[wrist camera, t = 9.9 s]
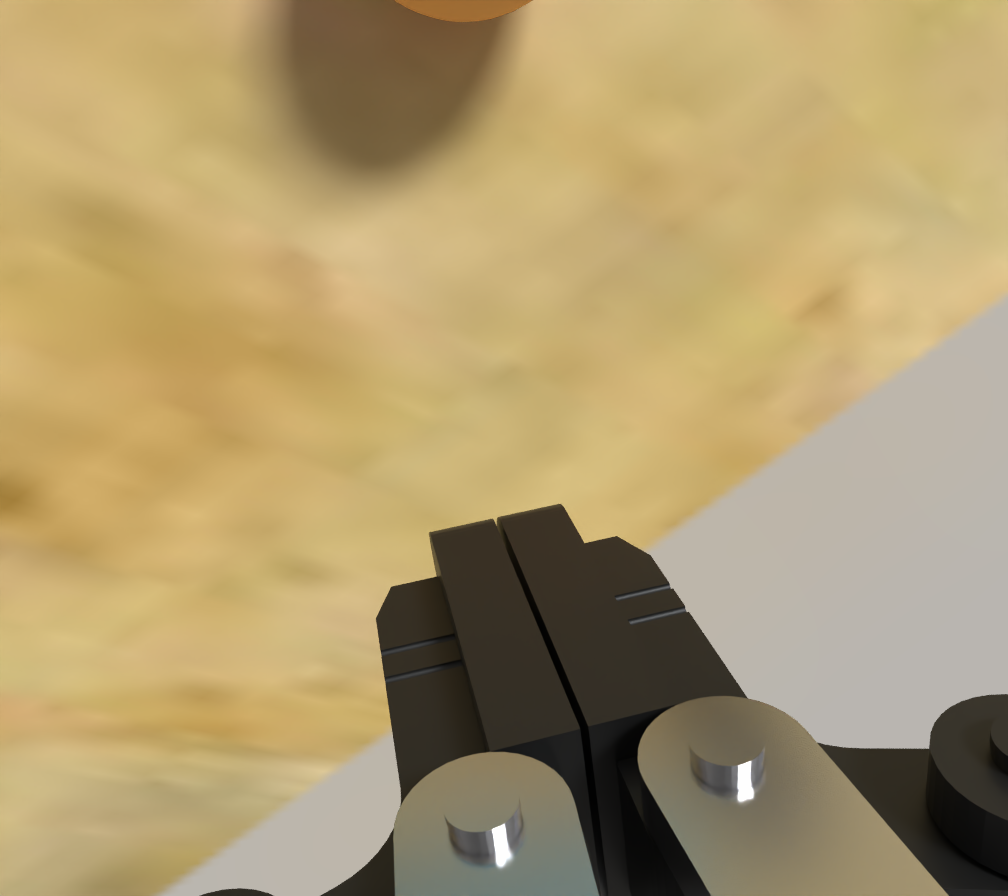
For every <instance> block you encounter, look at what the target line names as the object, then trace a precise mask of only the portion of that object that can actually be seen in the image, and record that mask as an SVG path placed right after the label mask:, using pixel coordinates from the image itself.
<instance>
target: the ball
mask: <svg viewBox="0 0 1008 896" xmlns="http://www.w3.org/2000/svg"><path fill="white" fill-rule="evenodd" d="M394 1H396V2H397V3H399V4H401V5H403V6H404V7H406V8H408V9H410V10H413V11H415V12H417V13H420V14H423V15H426V16H429V17H432V18H436V19H440V20H445V21H454V22H472V21H482V20H488V19H492V18H496V17H499V16H502V15H504V14H507V13H510V12H513V11H515V10H517V9H518V8H520V7H522V6H524V5H525V4H527V3H529V2H531V1H532V0H394Z"/></svg>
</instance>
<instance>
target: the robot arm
mask: <svg viewBox="0 0 1008 896" xmlns="http://www.w3.org/2000/svg"><path fill="white" fill-rule="evenodd" d="M429 537H430V543H431V549H432V554H433V560H434V565H435V570H436V575H437V577H433V578H429V579H424V580H420V581H415V582H411V583H406V584H402V585H397V586H393V587H391V588H390V590H389V593H388V595H387V597H386V599H385V601H384V603H383V605H382V607H381V609H380V611H379V613H378V615H377V617H376V622H377V629H378V636H379V643H380V650H381V655H382V663H383V670H384V677H385V682H386V691H387V698H388V705H389V712H390V718H391V725H392V732H393V739H394V746H395V752H396V759H397V766H398V773H399V780H400V787H401V806H400V809H399V811H398V813H397V816H396V820H395V824H394V829H393V831H392V832H391V834H390V836H389V838H388V840H387V841H386V843H385V844H384V845H383V846H382V848H381V849H380V851H379V852H378V853H377V854H376V855H375V856H374V857H373V859H371V860H370V862H368V864H367V865H366V866H364V867H363V868H362V869H361V870H359V871H358V872H357V873H356V874H355V875H353V876H352V877H351V878H349V879H348V880H346V881H344V882H343V883H341V884H340V885H338V886H337V887H335V888H333V889H331V890H330V891H328V892H326V893H324V894H323V895H321V896H1008V695H1007V694H1001V695H986V696H980V697H975V698H971V699H968V700H965V701H962V702H960V703H958V704H956V705H954V706H952V707H950V708H949V709H947V710H946V711H945V712H944V713H942V714H941V716H940V717H939V718H938V719H937V720H936V722H935V723H934V726H933V728H932V731H931V735H930V746H929V749H860V748H843V747H837V746H830V745H824V744H821V743H817V742H816V741H815V740H814V739H813V738H812V736H811V735H810V734H809V733H808V732H807V731H806V730H805V728H803V727H802V726H801V725H800V724H799V723H798V722H797V721H796V720H795V719H793V718H792V717H791V716H789V715H788V714H786V713H785V712H783V711H781V710H779V709H777V708H775V707H773V706H771V705H768V704H765V703H763V702H760V701H756V700H752V699H748V698H747V697H746V695H745V694H744V692H743V691H742V689H741V688H740V686H739V685H738V683H737V682H736V680H735V679H734V678H733V676H732V675H731V673H730V672H729V671H728V669H727V667H726V666H725V664H724V663H723V661H722V660H721V658H720V657H719V655H718V654H717V653H716V651H715V650H714V648H713V647H712V645H711V644H710V642H709V641H708V639H707V638H706V636H705V635H704V633H703V632H702V630H701V629H700V628H699V626H698V625H697V623H696V622H695V620H694V619H693V617H692V616H691V614H690V613H689V612H686V610H685V605H684V604H683V602H682V601H681V600H680V598H679V597H678V595H677V594H676V592H675V591H674V589H671V588H670V584H669V582H668V581H667V579H666V577H665V576H664V575H663V573H662V572H661V570H660V569H659V567H658V566H657V564H656V563H655V561H654V560H653V558H652V557H651V556H650V555H649V554H647V553H645V552H643V551H642V550H640V549H638V548H636V547H635V546H633V545H631V544H630V543H628V542H626V541H624V540H623V539H621V538H619V537H617V536H615V537H611V538H606V539H602V540H597V541H593V542H588V543H584V542H583V540H582V538H581V536H580V535H579V533H578V531H577V529H576V528H575V526H574V524H573V522H572V521H571V519H570V517H569V515H568V513H567V512H566V510H565V508H564V507H563V506H562V505H561V504H557V505H552V506H547V507H543V508H538V509H534V510H529V511H524V512H520V513H515V514H511V515H506V516H501V517H498V518H497V526H496V524H495V521H494V520H493V519H489V520H484V521H480V522H475V523H470V524H466V525H461V526H457V527H452V528H447V529H443V530H438V531H434V532H429ZM201 896H273V895H271V894H269V893H265V892H261V891H257V890H252V889H226V890H220V891H215V892H211V893H207V894H204V895H201Z"/></svg>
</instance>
